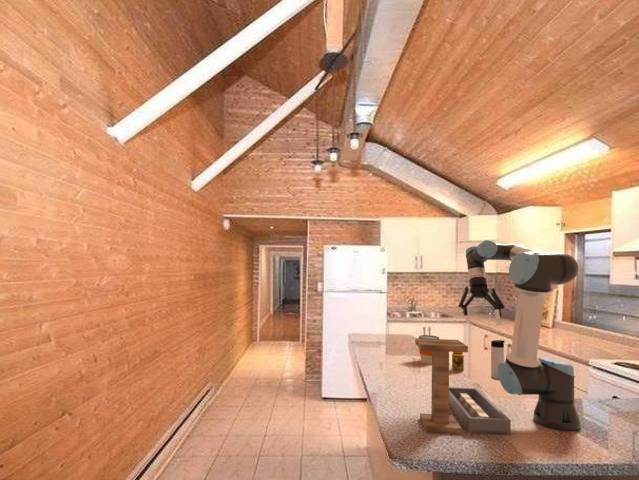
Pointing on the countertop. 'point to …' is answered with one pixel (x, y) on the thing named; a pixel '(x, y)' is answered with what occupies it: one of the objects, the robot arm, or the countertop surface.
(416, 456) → the countertop surface
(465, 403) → the ash bar
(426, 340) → the shelf stand
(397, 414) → the countertop surface
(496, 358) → the travel mug
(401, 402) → the countertop surface
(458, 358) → the condiment
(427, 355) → the reusable coffee cup
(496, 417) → the tray
